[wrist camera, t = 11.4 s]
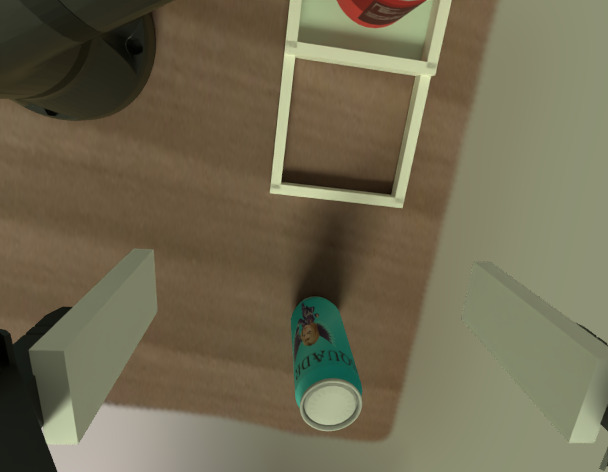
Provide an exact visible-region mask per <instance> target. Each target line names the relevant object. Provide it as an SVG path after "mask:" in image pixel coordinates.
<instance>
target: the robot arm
mask: <svg viewBox="0 0 608 472" xmlns="http://www.w3.org/2000/svg"><path fill="white" fill-rule="evenodd" d="M172 1H174V0H0V98H6V99H11V100H12V101H14V102H16V103H18V104H20V105H22V106H23V107H25V108H27V109H29V110H31V111H34V112H36V113H38V114H41V115H44V116H47V117H51V118H56V119H61V120H71V121H80V120H93V119H100V118H104V117H107V116H110V115H112V114H115V113H117V112H119V111H121V110H122V109H124V108H125V107H127V106H128V105H129V104H130V103H131V102H132V101H133V100H135V98H136V97H137V96H138V95H139V94H140V92H141V91H142V90H143V88H144V86H145V85H146V83H147V81H148V78H149V76H150V73H151V70H152V67H153V63H154V57H155V32H154V26H153V21H152V17H151V14H150V12H151V11H153V10H155V9H157V8H159V7H161V6H164V5H166V4H168V3H170V2H172ZM156 313H157V297H156V281H155V265H154V249H133V250H132V251H131V252H130V253H128V254H127V255H126V256H125V257H124V258H123V259H122V260H121V261H120V262H119V263H118V264H117V265H116V266H115V267H114V268H113V269H112V270H111V271H110V272H109V273H108V274H107V275H106V276H105V277H104V278H103V279H102V280H101V281H100V282H98V283H97V284H96V285H95V286H94V287H93V288H92V289H91V290H90V291H89V292H88V293H87V294H86V295H85V296H84V297H83V298H82V299H81V300H80V301H79V302H78V303H77V304H76V305H75V306H74V307H61V308H59V309H57V310H55V311H53V312H51V313H49V314H47V315H46V316H45V317H44V318H42V319H41V320H40V321H39V322H38V323H37V324H36V325H35V327H32V328H31V329H30V330H29V331H28V332H27V333H26V335H23V336H22V337H21V338H20V339H19V340H18V341H17V342H15V343H14V344H12V339H11V334H10V333H9V332H8V331H6V330H3V329H0V472H57V470H56V467H55V464H54V462H53V459H52V456H51V454H50V451H49V449H48V446H47V444H79V442H80V440H81V439H82V437H83V435H84V434H85V432H86V430H87V429H88V427H89V425H90V424H91V422H92V420H93V419H94V417H95V415H96V414H97V412H98V410H99V409H100V407H101V405H102V404H103V402H104V400H105V399H106V397H107V395H108V393H109V392H110V390H111V388H112V387H113V385H114V383H115V382H116V380H117V378H118V377H119V375H120V373H121V372H122V370H123V368H124V367H125V365H126V363H127V362H128V360H129V358H130V357H131V355H132V353H133V352H134V350H135V348H136V347H137V345H138V343H139V342H140V340H141V338H142V336H143V335H144V333H145V331H146V330H147V328H148V326H149V325H150V323H151V321H152V320H153V318H154V316H155V315H156ZM461 320H462V321H463V322H464V323H465V324H466V325H467V326H468V328H469V329H470V330H471V331H472V332H473V333H474V335H475V336H476V337H477V338H478V339H479V340H480V341H481V343H482V344H483V345H484V346H485V347H486V348H487V349H488V351H489V352H490V353H491V354H492V355H493V356H494V358H495V359H496V360H497V361H498V362H499V363H500V365H501V366H502V367H503V368H504V369H505V370H506V371H507V373H508V374H509V375H510V376H511V377H512V378H513V379H514V381H515V382H516V383H517V384H518V385H519V386H520V387H521V388H522V390H523V391H524V392H525V393H526V394H527V395H528V397H529V398H530V399H531V400H532V401H533V402H534V404H535V405H536V406H537V407H538V408H539V409H540V411H541V412H542V413H543V414H544V415H545V416H546V418H547V419H548V420H549V421H550V422H551V423H552V424H553V425H554V427H555V428H556V429H557V430H558V431H559V432H560V434H561V435H562V436H563V437H564V438H565V439H566V441H567V442H568V443H594V442H595V439H596V437H597V434H598V432H599V429H600V426H601V425H602V426H603V427H604V428H605V429H606V430H607V431H608V345H607V343H606V342H604V341H603V340H602V339H600V338H598V337H596V335H594V334H593V333H592V332H590V331H589V330H588V329H586V328H585V327H583V326H581V325H579V324H577V323H575V322H573V321H572V320H570V319H569V318H568V317H566V316H565V315H563V314H562V313H561V312H559V311H558V310H557V309H555V308H554V307H553V306H551V305H550V304H548V303H547V302H546V301H544V300H543V299H541V298H540V297H539V296H537V295H536V294H535V293H533V292H532V291H530V290H529V289H528V288H526V287H525V286H524V285H522V284H521V283H519V282H518V281H517V280H515V279H513V278H512V277H511V276H510V275H508V274H507V273H505V272H504V271H503V270H501V269H500V268H499V267H497V266H496V265H494V264H493V263H492V262H475V261H474V262H473V267H472V271H471V275H470V280H469V285H468V289H467V294H466V298H465V303H464V307H463V312H462V316H461ZM42 426H43V429H44V435H45V438H44V435H43V433H42V430H41V428H42ZM606 466H608V448H607V451H606V453H605V455H604V458H603V460H602V463H601V465H600V468H599V469H601V470H605V468H606Z"/></svg>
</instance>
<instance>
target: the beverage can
mask: <svg viewBox="0 0 608 472" xmlns="http://www.w3.org/2000/svg"><path fill="white" fill-rule="evenodd" d="M291 332H292V349H293V365H294V381H295V396H296V402H297V404H298V406H299V408H300V412H301V415H302V417H303V419H304V420H305V422H306V423H307V424H309V425H310V426H312V427H313V428H316V429H318V430H323V431H334V430H339V429H342V428H345V427H346V426H348V425H350V424H351V423H353V422H354V421H355V420H356V418H357V417H358V416H359V414H360V412H361V409H362V398H361V396H362V386H361V382H360V379H359V375H358V372H357V369H356V365H355V362H354V359H353V355H352V352H351V349H350V345H349V342H348V339H347V335H346V332H345V329H344V325H343V322H342V319H341V315H340V312H339V310H338V309H337V307H336V306H335V305H334V304H333V303H331V302H330V301H329V300H327V299H325V298H323V297H318V296H313V297H308V298H306V299H304V300H303V301H301V302H300V303H299V304H298V306H297V307H296V308H295V310H294V312H293V314H292V317H291Z"/></svg>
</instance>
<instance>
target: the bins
mask: <svg viewBox="0 0 608 472" xmlns="http://www.w3.org/2000/svg"><path fill="white" fill-rule="evenodd" d="M451 1H452V0H426V1H425V2H424V3H422V4H421V5H419V6H418V7H416V8H415V9H414V10H412V11H411V12H409V13H408V14H407V15H405V16H404V17H402V18H401V19H400V20H398V21H396V22H395V23H393V24H392V25H389V26H386V27H382V28H367V27H364V26H361V25H359V24H357V23H356V22H354V21H352V20H351V19H350V18H349V17H348V16H347V15H346V14H345V13H344V12H343V10H342V9H341V8H340V6H339V4H338V2H337V0H290V5H289V14H288V24H287V33H286V43H285V53H284V62H283V72H282V82H281V91H280V101H279V111H278V120H277V130H276V140H275V149H274V159H273V168H272V178H271V188H270V193H274V194H283V195H292V196H300V197H309V198H318V199H327V200H336V201H344V202H353V203H362V204H371V205H380V206H389V207H397V208H403V203H404V198H405V194H406V189H407V185H408V180H409V175H410V171H411V166H412V162H413V157H414V152H415V148H416V143H417V138H418V134H419V129H420V125H421V120H422V115H423V111H424V106H425V102H426V97H427V92H428V88H429V83H430V79H431V76H434V75H435V74H436V69H437V64H438V60H439V55H440V51H441V46H442V42H443V37H444V33H445V28H446V24H447V19H448V14H449V10H450V5H451ZM295 58H301V59H308V60H314V61H321V62H328V63H334V64H341V65H347V66H354V67H361V68H367V69H374V70H381V71H387V72H394V73H400V74H407V75H414V76H415V81H414V86H413V91H412V95H411V100H410V105H409V110H408V115H407V120H406V125H405V130H404V134H403V139H402V144H401V149H400V154H399V159H398V164H397V169H396V174H395V178H394V183H393V188H392V193H391V195H390V194H381V193H373V192H364V191H355V190H347V189H338V188H330V187H321V186H313V185H304V184H296V183H287V182H281V179H282V170H283V161H284V152H285V143H286V134H287V125H288V116H289V107H290V98H291V89H292V81H293V72H294V63H295Z"/></svg>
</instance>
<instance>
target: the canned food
mask: <svg viewBox="0 0 608 472" xmlns="http://www.w3.org/2000/svg"><path fill="white" fill-rule="evenodd" d="M425 1H426V0H337V2H338V4H339V6H340V8H341V9H342V10H343V12H344V13H345V14H346V15H347V16H348V17H349V18H350V19H351V20H352V21H354V22H356V23H357V24H359V25H361V26H364V27H367V28H382V27H386V26H389V25H392V24H393V23H395V22H396V21H398V20H400V19H401V18H402V17H404V16H405V15H407V14H408V13H409V12H411V11H412V10H414V9H415V8H416V7H418V6H419V5H421V4H422V3H424V2H425Z"/></svg>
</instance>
